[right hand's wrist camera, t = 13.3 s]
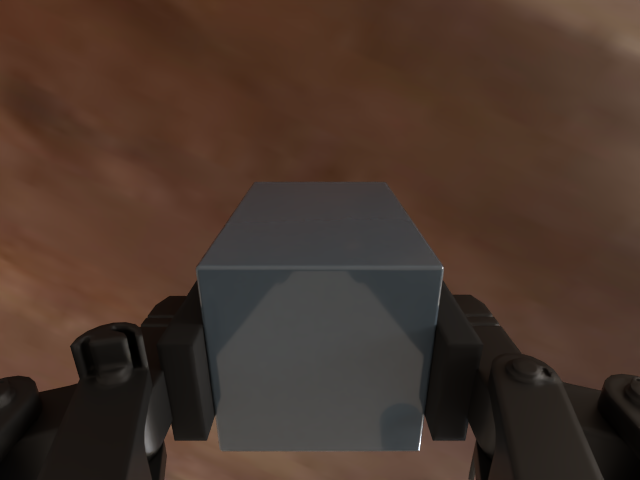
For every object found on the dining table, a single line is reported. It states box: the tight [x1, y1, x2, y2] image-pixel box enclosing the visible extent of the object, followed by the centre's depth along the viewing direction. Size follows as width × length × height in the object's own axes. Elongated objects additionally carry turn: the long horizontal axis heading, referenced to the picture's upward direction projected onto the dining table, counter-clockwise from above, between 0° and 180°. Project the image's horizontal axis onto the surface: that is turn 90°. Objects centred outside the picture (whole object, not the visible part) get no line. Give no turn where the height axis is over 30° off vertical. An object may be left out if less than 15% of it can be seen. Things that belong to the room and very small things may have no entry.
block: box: [196, 182, 444, 451], centre depth 13 cm, size 5×5×8 cm
